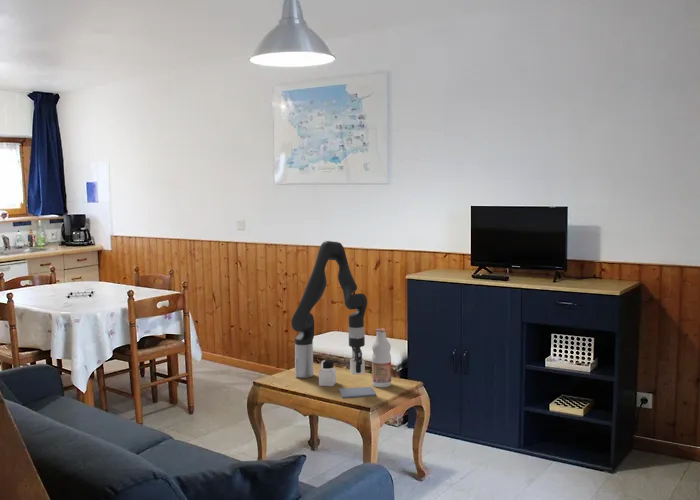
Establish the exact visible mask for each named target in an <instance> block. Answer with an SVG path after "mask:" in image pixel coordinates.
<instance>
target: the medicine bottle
mask: <svg viewBox="0 0 700 500" xmlns="http://www.w3.org/2000/svg"><path fill="white" fill-rule="evenodd" d="M320 363H321V364H320V365H321V367H320V368H321V369H320V370H318V386H320V387H334V386H335V384H336V383H337V369H336V368H334V361H333V360H332V359H323V360H321V362H320Z"/></svg>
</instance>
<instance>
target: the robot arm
mask: <svg viewBox="0 0 700 500" xmlns="http://www.w3.org/2000/svg"><path fill="white" fill-rule="evenodd" d="M347 258H348V257H347V255H346V251H345V248H344V245H343V244H342V243H341V242H338V241H331V240H324V241H323V242H322V243H321V244H320V246H319V249H318V253H317V257H316V260H315V263H314V266H313V270H312V272H311V275H310V277H309V279H308V281H307V284H306V287H305V289H304V292H303V295H302V297H301V299H300V301H299V304H298V306H297V308H296V310H295V312H294V314H293V315H292V318H291V323H290V324H291V328H292V329H293V330H294V331H295V332H297V333H298V332H299V333H298V334H297V336H295V338H294V375H295V378H300V379H301V378H303V379H305V378H306V379H308V378H311V377H314V346H313V345H314V343H313V342H314V337H315V318H314V315H313V314H312V313H311V311H312V309H314V307H315V305H316V304H317V303H318V302H319V301H320V299H322V297H323V295H324V292H325V290H326V287H327V282H328V281H327V276H326V266H327V263H328V261H335V262H336V263H337V265H338V273H337V280H338V283H339V285H340V288H341V289H342V292H343V299H344V300H343V301H344V305H345V307H346V308H347V309H348V310H351V311H352V310H355V312H353V313H351V314H349V316H348V346H349V347H350V348H351V357H352V358H351V359H354V360H355V361H356V373H361V365H362V358H363V352H362V350H361V347H362V348H363V347H364V346H365V344H366V343H365V337H366V336H365V332H366V331H365V325H364V324H365V320H364V318H365V313H366V309H367V306H368V305H367V304H368V297H367V296H366V295H365V294H364V293H361V292H360V293H355V292H356V291H357V289H358V286H357V284H356V280H355V279H354V277H353V275H352V272H351V270H350V265H349V262H348V259H347ZM358 360H359V361H360V362H358Z"/></svg>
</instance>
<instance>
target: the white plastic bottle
mask: <svg viewBox="0 0 700 500" xmlns="http://www.w3.org/2000/svg"><path fill="white" fill-rule="evenodd" d="M375 332H376V335H375V339H374V341H373V342H372V345H371V349H372V354H371V355H372V356H371V379H372V380H371V382H372V386H373V387H375V388H380V389H381V388H388V387H389V388H390V386H391V385H392V355H391V343H390V342H389V341H388V339H387V335H386V333H387V329H386V328H383V327H382V328H379V327H378V328H376V329H375Z"/></svg>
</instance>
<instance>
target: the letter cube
mask: <svg viewBox="0 0 700 500" xmlns="http://www.w3.org/2000/svg"><path fill="white" fill-rule="evenodd" d="M358 362H360V361H359V360H358ZM365 366H366V360H365V359H364V358H363V357H362V365H361V373H356V361H355V360H354V359H353V358H349V371H350V373H351V376H353V375H364V374H366V367H365Z"/></svg>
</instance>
